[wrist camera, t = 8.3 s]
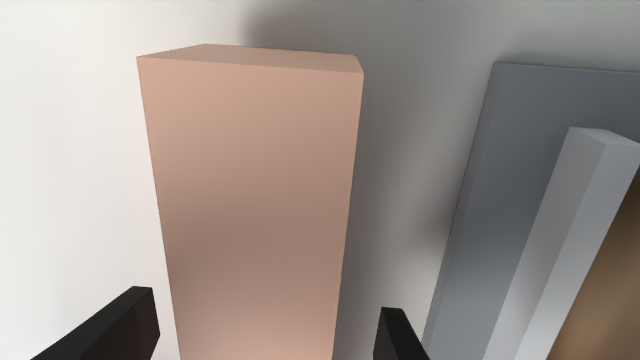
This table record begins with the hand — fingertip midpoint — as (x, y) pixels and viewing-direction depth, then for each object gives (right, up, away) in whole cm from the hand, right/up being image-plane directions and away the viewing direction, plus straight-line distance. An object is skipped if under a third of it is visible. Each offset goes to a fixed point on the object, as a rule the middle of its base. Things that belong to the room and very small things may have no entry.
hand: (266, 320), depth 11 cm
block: (0, +1, +2) cm, 3 cm away
